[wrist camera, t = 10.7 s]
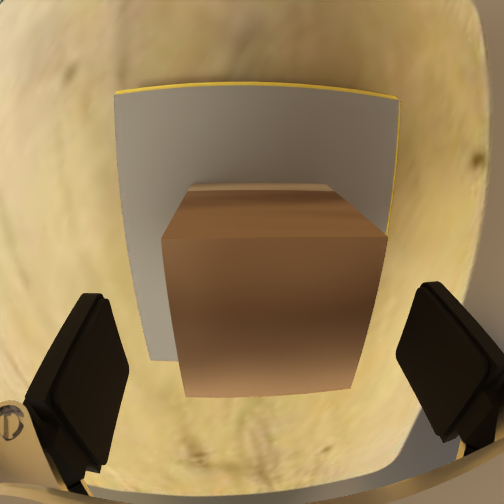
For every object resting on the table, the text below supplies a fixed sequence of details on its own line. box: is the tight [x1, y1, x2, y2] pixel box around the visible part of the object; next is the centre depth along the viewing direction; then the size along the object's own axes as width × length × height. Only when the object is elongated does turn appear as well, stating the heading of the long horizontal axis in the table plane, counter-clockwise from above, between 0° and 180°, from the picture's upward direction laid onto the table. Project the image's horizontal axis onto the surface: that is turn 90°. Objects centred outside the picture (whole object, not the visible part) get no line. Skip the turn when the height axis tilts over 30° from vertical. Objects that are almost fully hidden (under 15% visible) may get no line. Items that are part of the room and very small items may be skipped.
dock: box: [114, 82, 401, 361], centre depth 18 cm, size 16×14×3 cm
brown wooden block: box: [161, 183, 388, 398], centre depth 13 cm, size 6×6×7 cm
